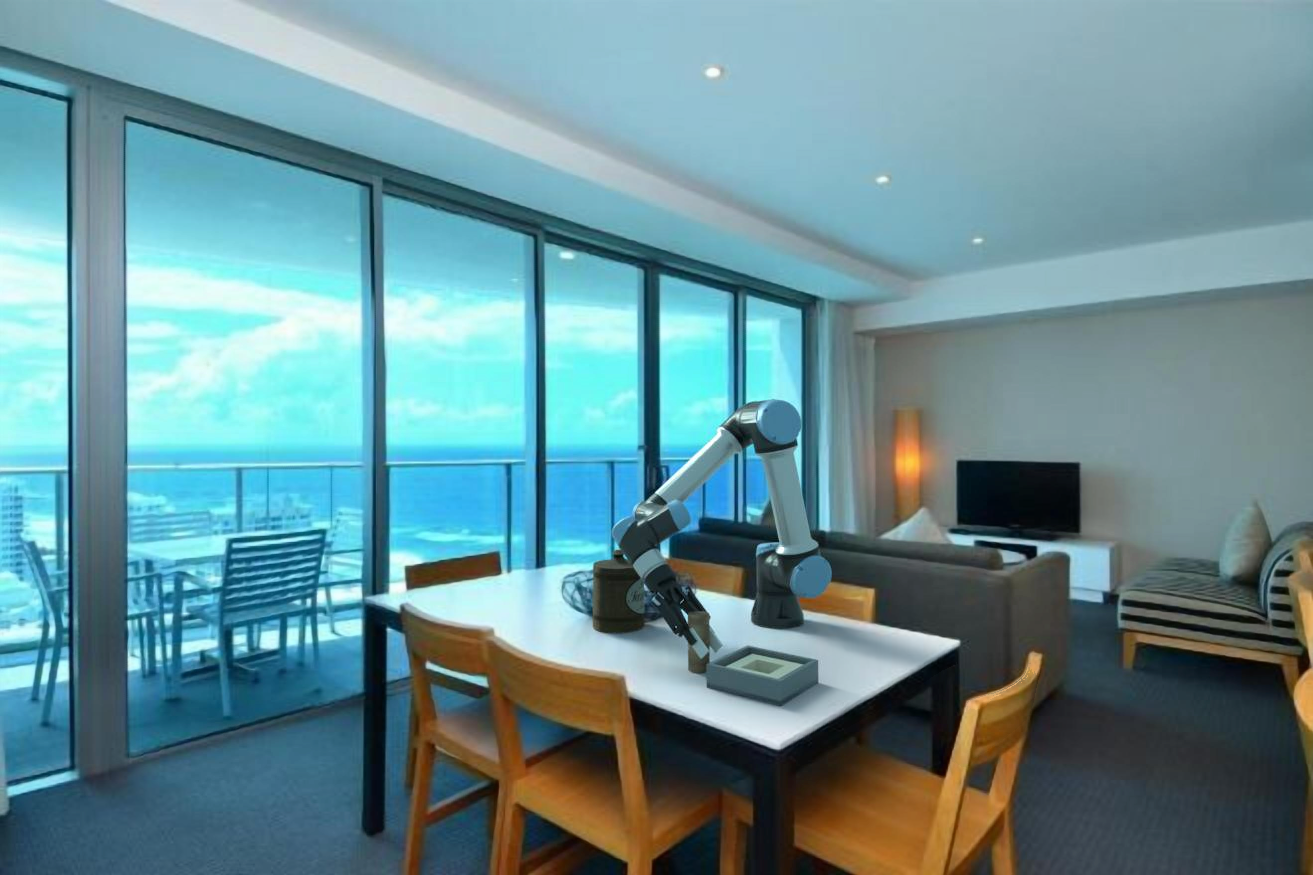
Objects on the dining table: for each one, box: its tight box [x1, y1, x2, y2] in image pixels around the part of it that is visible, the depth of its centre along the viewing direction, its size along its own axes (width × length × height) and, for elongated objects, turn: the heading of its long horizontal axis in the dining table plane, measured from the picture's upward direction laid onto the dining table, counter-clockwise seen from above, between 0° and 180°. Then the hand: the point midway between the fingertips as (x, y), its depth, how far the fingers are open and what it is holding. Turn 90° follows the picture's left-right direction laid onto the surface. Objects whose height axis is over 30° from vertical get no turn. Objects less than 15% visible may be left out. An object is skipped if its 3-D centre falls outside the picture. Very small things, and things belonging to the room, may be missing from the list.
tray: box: [706, 645, 819, 707], centre depth 156 cm, size 17×18×5 cm
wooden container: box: [592, 549, 645, 634], centre depth 205 cm, size 15×15×22 cm
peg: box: [687, 611, 711, 674], centre depth 166 cm, size 5×5×13 cm
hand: (712, 651), depth 164 cm, fingers closed on peg, 5 cm apart
